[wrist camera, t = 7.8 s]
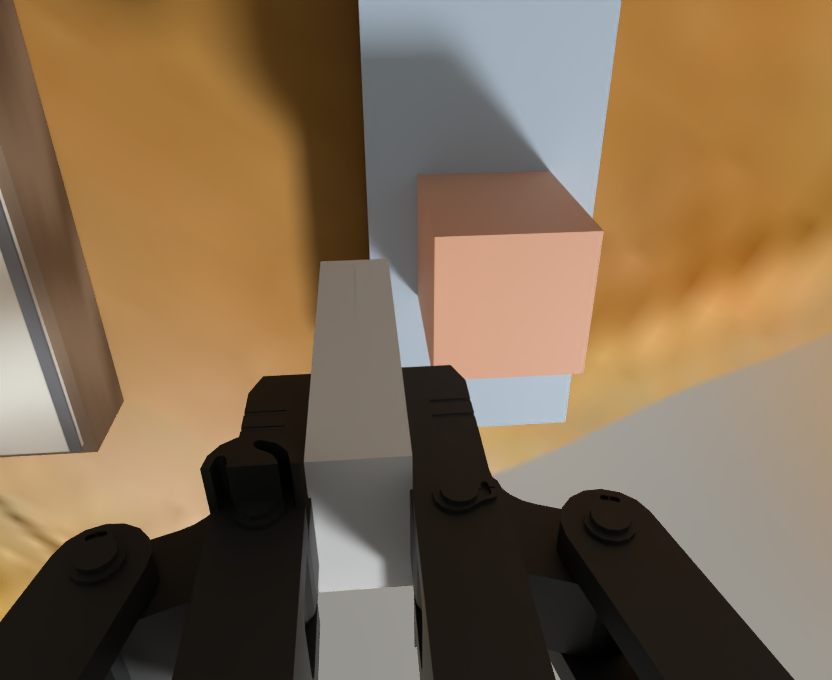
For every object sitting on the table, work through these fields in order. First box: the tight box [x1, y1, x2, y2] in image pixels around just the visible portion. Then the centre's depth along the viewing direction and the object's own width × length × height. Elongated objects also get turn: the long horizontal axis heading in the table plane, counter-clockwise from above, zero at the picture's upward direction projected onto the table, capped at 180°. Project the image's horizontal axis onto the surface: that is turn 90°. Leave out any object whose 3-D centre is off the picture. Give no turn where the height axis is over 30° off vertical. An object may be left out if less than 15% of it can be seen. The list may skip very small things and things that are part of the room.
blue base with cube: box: [358, 0, 621, 427], centre depth 20 cm, size 15×7×8 cm, turn 0°
